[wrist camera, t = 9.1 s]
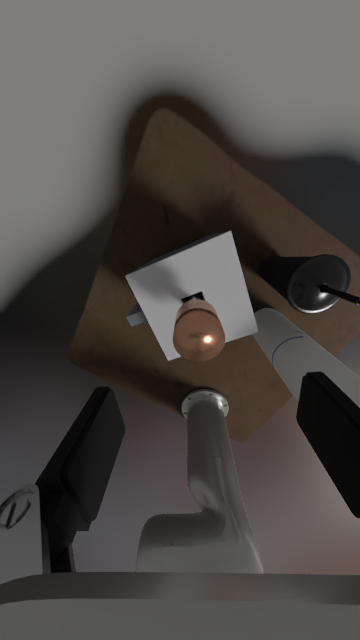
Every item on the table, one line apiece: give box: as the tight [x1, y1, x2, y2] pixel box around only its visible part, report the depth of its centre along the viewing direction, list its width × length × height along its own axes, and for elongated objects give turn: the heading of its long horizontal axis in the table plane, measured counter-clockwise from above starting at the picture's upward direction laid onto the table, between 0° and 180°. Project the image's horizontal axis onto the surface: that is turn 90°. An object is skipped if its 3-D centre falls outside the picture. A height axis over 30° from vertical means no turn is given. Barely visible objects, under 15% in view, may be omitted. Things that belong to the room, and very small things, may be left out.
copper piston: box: [173, 291, 225, 362], centre depth 25 cm, size 9×9×23 cm
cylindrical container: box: [252, 308, 360, 407], centre depth 29 cm, size 7×7×25 cm
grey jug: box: [125, 231, 258, 361], centre depth 30 cm, size 16×12×17 cm
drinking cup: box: [261, 254, 360, 314], centre depth 27 cm, size 8×8×20 cm
